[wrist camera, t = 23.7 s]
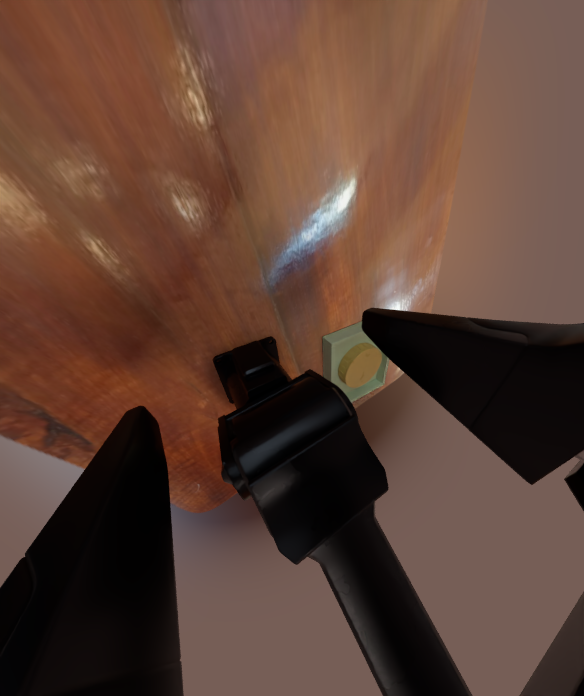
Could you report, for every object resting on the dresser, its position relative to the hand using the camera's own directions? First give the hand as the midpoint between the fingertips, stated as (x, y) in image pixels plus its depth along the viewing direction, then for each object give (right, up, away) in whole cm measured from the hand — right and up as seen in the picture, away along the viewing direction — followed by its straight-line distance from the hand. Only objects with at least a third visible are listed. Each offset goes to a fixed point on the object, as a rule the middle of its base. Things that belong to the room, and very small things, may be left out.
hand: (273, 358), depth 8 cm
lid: (+11, -2, +22) cm, 25 cm away
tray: (+10, -2, +24) cm, 26 cm away
